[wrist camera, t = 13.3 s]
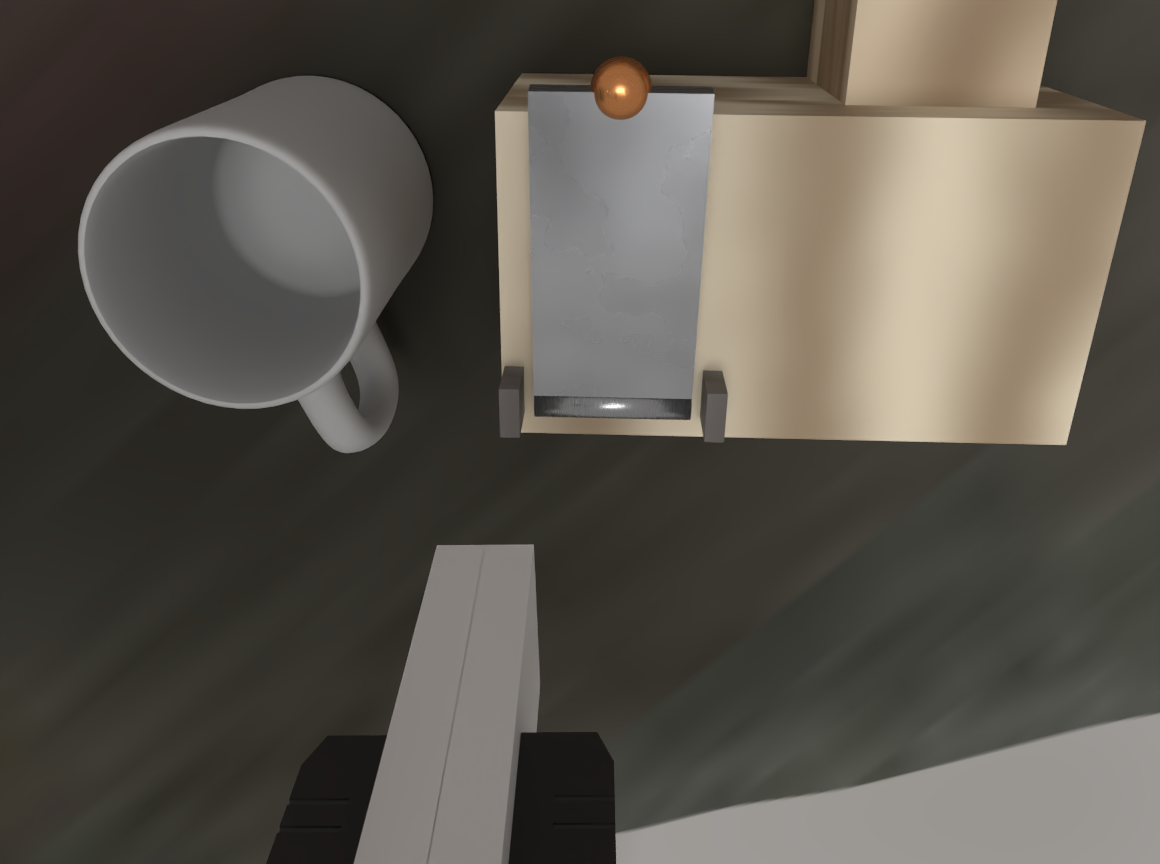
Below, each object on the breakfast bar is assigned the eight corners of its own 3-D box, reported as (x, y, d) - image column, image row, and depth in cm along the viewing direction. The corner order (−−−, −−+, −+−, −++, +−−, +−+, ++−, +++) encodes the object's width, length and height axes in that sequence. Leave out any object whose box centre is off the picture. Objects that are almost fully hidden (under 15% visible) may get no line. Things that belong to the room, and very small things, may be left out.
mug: (170, 124, 38) (11, 190, 28) (374, 37, 36) (283, 73, 26) (319, 400, 42) (229, 539, 32) (505, 333, 41) (470, 459, 31)
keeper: (537, 401, 32) (533, 427, 31) (530, 49, 27) (525, 61, 25) (687, 405, 32) (690, 431, 31) (713, 52, 26) (718, 64, 25)
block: (526, 334, 41) (497, 457, 31) (520, -34, 35) (483, -25, 25) (975, 343, 40) (1089, 471, 31) (1047, -28, 34) (1217, -16, 25)
